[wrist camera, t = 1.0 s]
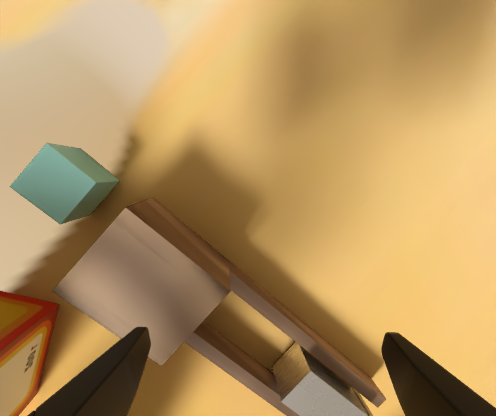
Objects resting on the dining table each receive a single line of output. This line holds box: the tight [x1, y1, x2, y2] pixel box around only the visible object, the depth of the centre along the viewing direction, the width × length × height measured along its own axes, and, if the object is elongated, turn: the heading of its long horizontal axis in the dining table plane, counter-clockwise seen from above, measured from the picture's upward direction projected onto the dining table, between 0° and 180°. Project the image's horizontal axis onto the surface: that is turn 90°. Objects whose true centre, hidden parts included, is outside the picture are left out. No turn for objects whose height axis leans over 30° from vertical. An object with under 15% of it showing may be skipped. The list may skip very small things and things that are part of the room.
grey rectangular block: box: [272, 342, 373, 416], centre depth 24 cm, size 4×9×4 cm, turn 47°
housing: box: [52, 198, 386, 416], centre depth 21 cm, size 7×30×6 cm, turn 47°
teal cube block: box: [10, 143, 119, 224], centre depth 19 cm, size 4×4×4 cm
